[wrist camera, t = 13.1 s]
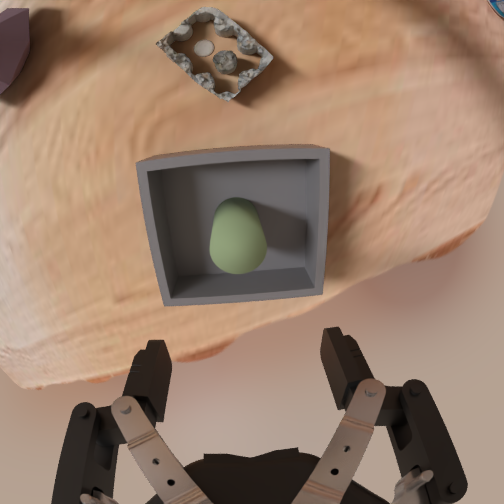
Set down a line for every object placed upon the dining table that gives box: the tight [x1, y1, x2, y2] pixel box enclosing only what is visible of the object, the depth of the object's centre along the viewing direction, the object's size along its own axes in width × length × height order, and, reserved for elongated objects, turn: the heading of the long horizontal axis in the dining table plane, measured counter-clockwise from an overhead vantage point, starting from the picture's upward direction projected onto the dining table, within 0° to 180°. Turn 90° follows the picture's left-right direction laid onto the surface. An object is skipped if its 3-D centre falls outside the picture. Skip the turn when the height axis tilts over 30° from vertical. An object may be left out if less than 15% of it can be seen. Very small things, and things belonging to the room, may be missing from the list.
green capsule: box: [210, 197, 267, 274], centre depth 28 cm, size 5×5×8 cm
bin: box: [136, 144, 330, 306], centre depth 29 cm, size 16×18×6 cm
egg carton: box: [156, 7, 273, 102], centre depth 22 cm, size 11×8×4 cm
